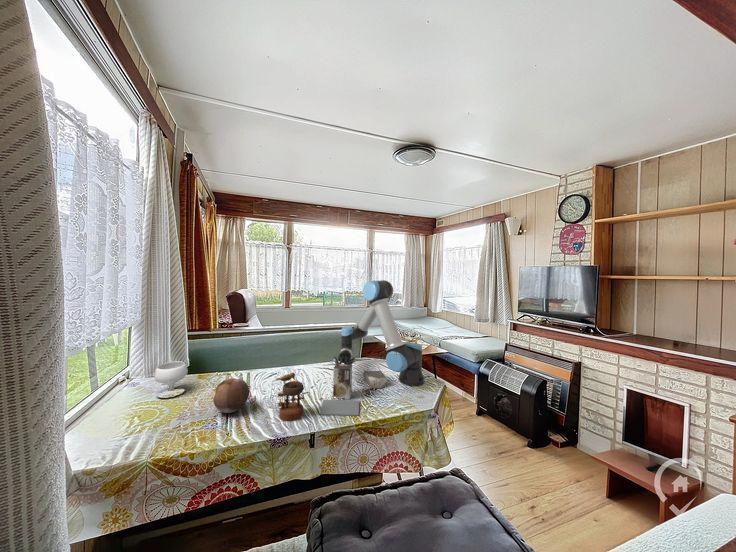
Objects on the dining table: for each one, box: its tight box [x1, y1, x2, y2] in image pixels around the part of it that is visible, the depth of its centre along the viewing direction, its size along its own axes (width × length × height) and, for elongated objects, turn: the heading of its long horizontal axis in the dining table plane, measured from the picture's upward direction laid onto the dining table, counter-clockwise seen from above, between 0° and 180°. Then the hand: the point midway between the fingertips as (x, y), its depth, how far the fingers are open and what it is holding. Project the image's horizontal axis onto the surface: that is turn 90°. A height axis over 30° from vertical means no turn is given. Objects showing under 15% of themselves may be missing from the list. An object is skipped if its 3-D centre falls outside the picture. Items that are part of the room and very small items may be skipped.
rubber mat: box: [318, 399, 360, 417], centre depth 133 cm, size 18×14×1 cm
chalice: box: [153, 360, 189, 391], centre depth 142 cm, size 14×14×15 cm
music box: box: [275, 372, 310, 422], centre depth 126 cm, size 15×11×20 cm
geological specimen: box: [363, 370, 388, 390], centre depth 163 cm, size 11×6×15 cm
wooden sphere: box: [212, 377, 250, 414], centre depth 128 cm, size 15×15×15 cm
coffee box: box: [332, 364, 353, 400], centre depth 145 cm, size 9×6×16 cm
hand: (341, 369), depth 149 cm, fingers closed
